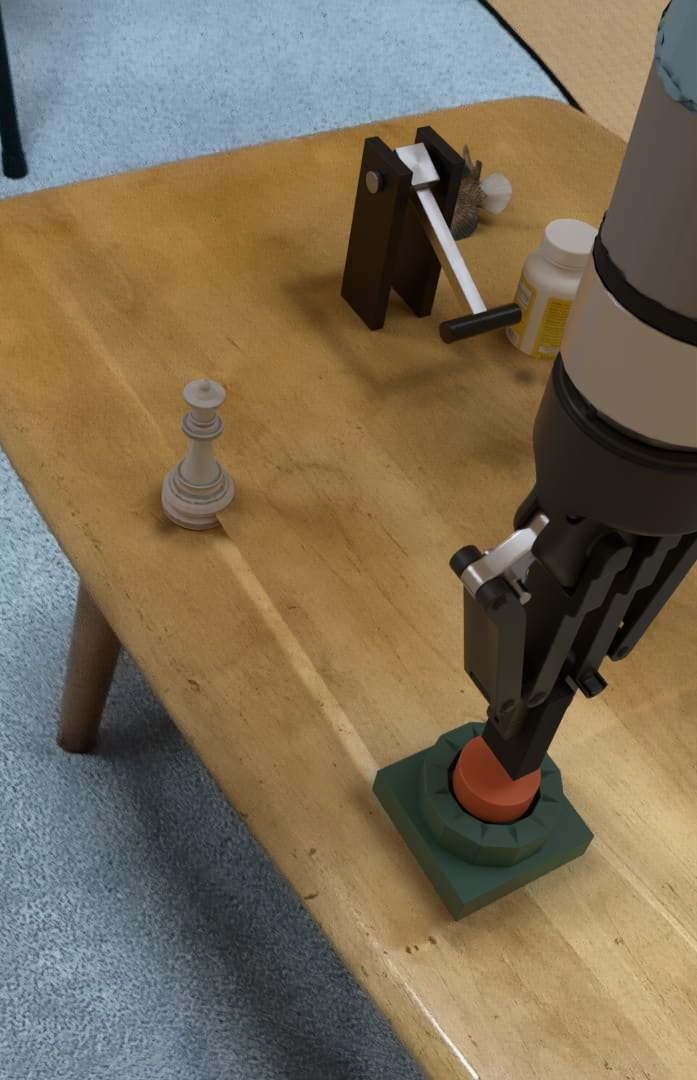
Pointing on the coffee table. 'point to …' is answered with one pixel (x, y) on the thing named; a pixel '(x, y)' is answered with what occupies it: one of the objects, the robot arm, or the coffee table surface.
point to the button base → (476, 827)
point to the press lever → (451, 256)
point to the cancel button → (491, 785)
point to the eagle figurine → (478, 197)
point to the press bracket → (396, 230)
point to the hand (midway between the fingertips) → (509, 752)
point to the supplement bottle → (550, 287)
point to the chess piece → (199, 463)
